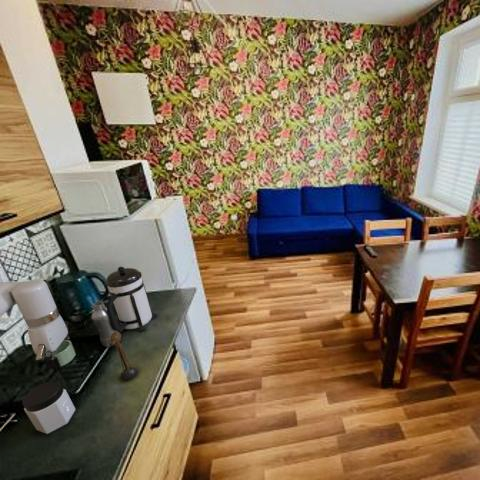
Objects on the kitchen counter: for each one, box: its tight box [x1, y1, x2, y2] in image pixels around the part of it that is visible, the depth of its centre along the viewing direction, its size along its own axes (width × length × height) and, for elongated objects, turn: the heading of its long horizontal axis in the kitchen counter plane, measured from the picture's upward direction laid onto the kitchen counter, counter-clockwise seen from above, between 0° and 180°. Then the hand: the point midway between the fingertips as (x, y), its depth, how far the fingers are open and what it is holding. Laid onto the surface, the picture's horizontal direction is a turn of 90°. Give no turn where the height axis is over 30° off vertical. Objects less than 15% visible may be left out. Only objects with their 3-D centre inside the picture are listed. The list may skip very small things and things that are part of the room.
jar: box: [21, 380, 76, 435], centre depth 80 cm, size 9×8×12 cm
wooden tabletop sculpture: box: [110, 331, 138, 382], centre depth 93 cm, size 6×5×20 cm
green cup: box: [46, 339, 77, 367], centre depth 91 cm, size 7×7×6 cm
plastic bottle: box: [91, 300, 119, 348], centre depth 108 cm, size 6×7×20 cm
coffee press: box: [104, 266, 157, 333], centre depth 116 cm, size 17×16×30 cm
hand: (61, 358), depth 92 cm, fingers closed on green cup, 7 cm apart
